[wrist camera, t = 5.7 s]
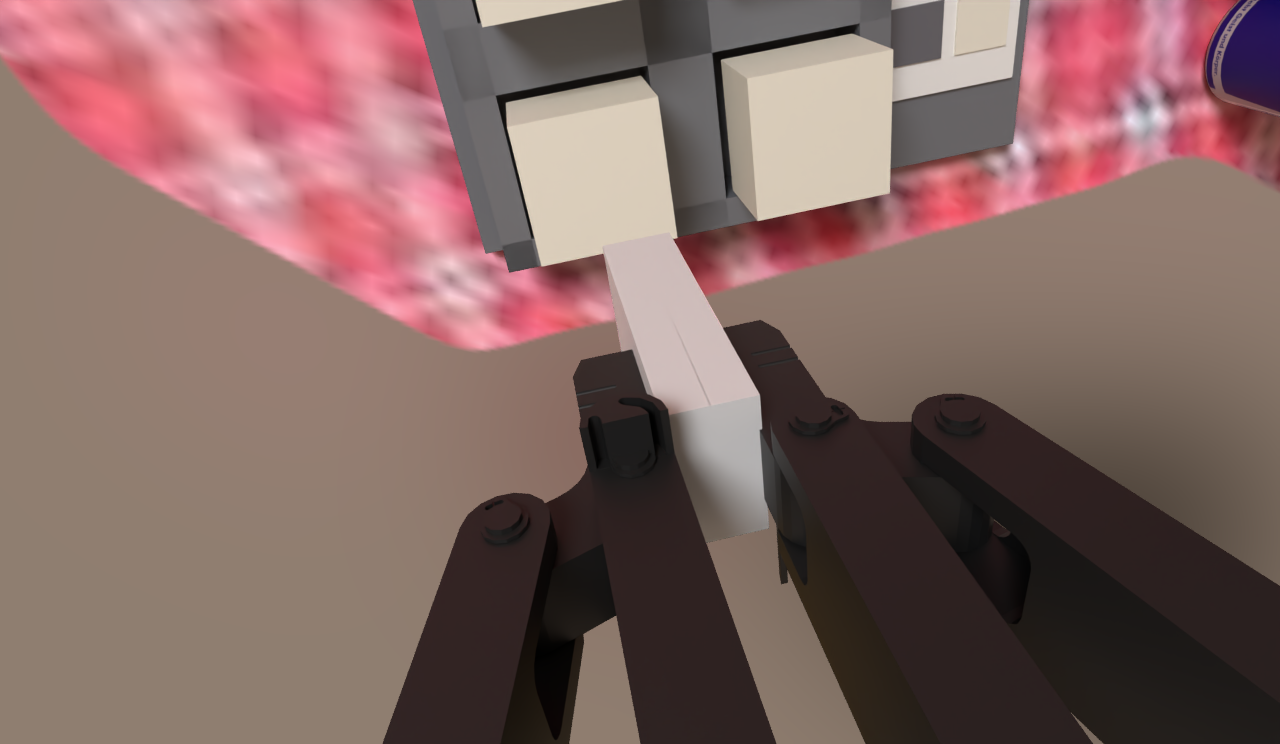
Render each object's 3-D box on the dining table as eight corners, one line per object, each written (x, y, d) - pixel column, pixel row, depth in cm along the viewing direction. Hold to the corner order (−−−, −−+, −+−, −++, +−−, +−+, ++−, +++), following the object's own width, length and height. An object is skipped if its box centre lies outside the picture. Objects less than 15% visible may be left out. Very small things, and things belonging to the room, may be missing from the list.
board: (1047, -322, 26) (1116, -349, 24) (1000, 137, 35) (1046, 159, 32) (359, -200, 25) (340, -212, 22) (485, 244, 34) (485, 277, 31)
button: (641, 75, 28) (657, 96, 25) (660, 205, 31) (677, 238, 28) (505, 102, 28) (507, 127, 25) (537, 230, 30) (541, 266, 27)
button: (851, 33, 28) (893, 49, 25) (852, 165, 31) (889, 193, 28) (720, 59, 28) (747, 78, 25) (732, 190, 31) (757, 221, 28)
